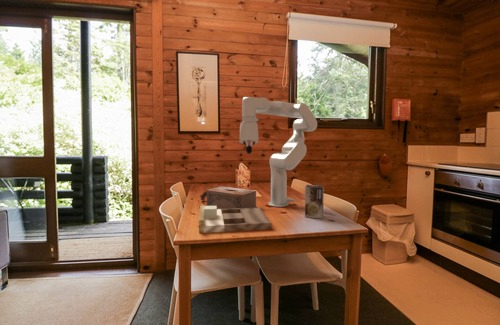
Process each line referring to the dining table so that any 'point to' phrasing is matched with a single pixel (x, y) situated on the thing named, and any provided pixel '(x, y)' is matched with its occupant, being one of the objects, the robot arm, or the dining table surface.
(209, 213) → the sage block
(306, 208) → the coffee box
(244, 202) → the tissue box cover
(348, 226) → the dining table surface
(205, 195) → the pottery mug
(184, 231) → the dining table surface
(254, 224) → the box
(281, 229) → the dining table surface
